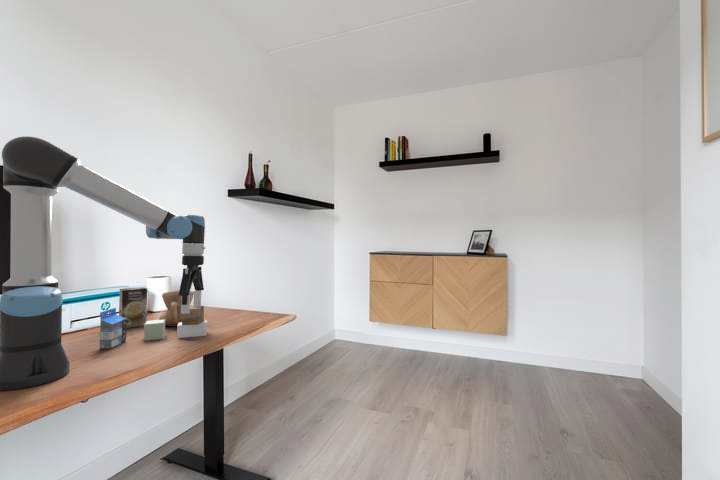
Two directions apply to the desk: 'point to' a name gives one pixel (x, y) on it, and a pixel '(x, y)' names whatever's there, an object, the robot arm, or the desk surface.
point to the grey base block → (191, 330)
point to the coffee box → (133, 306)
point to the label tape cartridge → (112, 329)
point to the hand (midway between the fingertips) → (191, 310)
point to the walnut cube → (193, 316)
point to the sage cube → (154, 329)
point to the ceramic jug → (173, 307)
